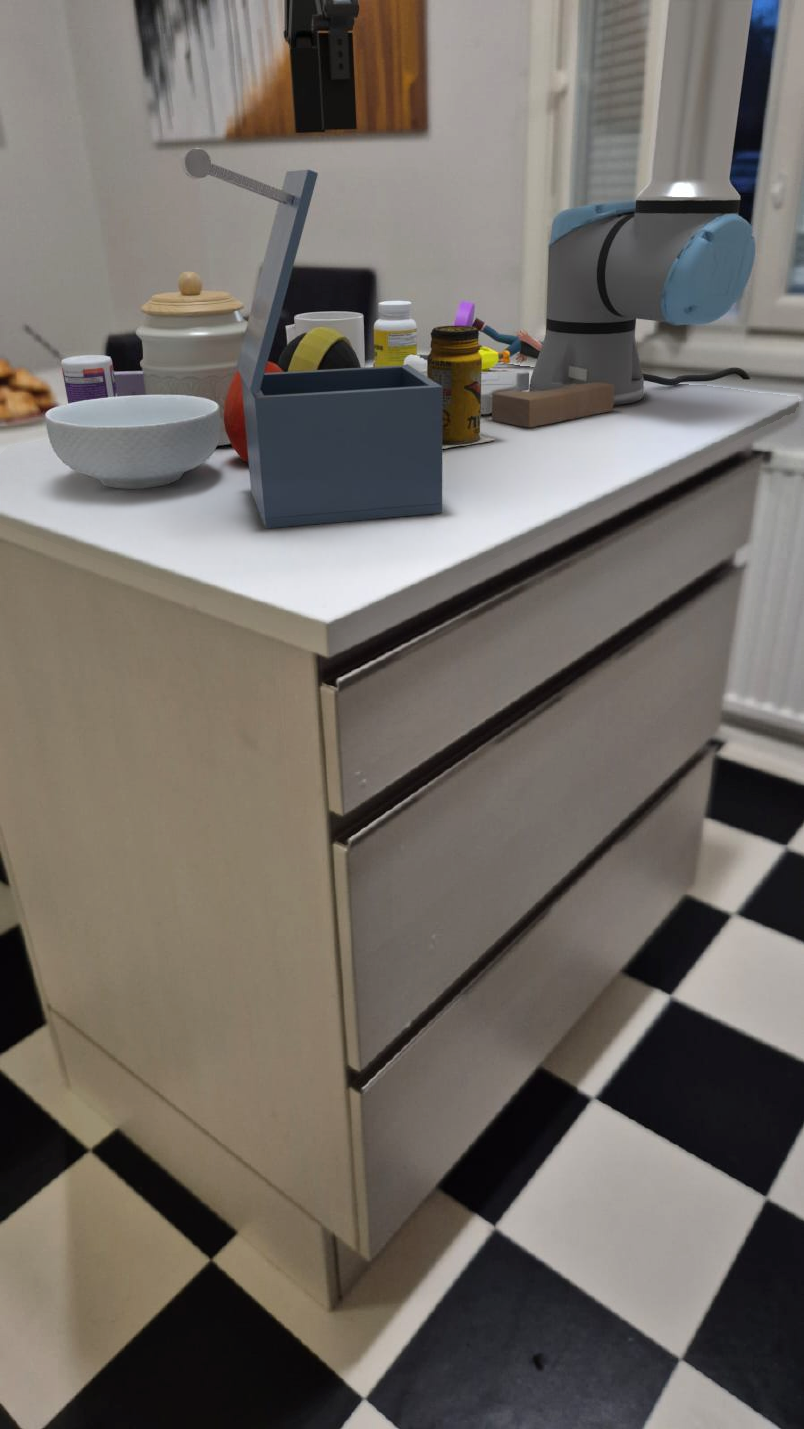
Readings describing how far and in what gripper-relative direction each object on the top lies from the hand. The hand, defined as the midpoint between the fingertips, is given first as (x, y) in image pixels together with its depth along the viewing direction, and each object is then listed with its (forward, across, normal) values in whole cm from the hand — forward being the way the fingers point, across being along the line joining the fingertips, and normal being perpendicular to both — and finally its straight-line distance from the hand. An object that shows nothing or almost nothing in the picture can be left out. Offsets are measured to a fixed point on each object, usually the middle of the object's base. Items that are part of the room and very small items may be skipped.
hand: (324, 131), depth 86 cm
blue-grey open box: (+30, +11, -2) cm, 32 cm away
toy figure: (+30, -51, +37) cm, 70 cm away
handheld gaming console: (+29, -20, +22) cm, 42 cm away
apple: (+30, -7, -7) cm, 32 cm away
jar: (+30, -20, -12) cm, 38 cm away
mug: (+31, -36, +5) cm, 48 cm away
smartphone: (+27, -30, -23) cm, 46 cm away
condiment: (+31, -10, +14) cm, 35 cm away
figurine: (+27, -59, +30) cm, 72 cm away
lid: (+11, +10, -7) cm, 16 cm away
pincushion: (+28, -32, +19) cm, 47 cm away
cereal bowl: (+30, -4, -20) cm, 36 cm away
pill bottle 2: (+32, -47, +18) cm, 59 cm away
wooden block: (+29, -15, +24) cm, 40 cm away
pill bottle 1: (+20, -19, -24) cm, 37 cm away
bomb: (+24, -27, -2) cm, 36 cm away
